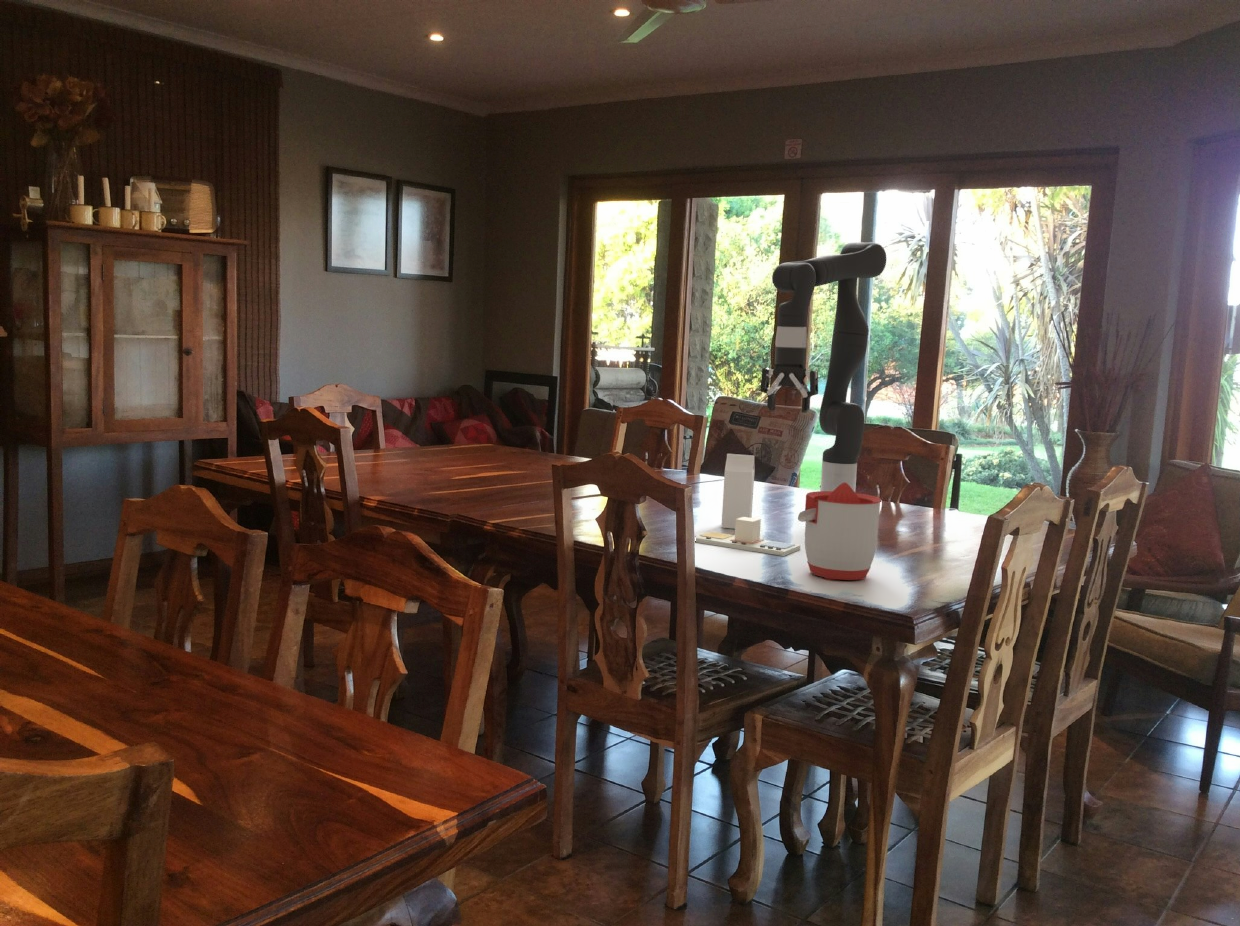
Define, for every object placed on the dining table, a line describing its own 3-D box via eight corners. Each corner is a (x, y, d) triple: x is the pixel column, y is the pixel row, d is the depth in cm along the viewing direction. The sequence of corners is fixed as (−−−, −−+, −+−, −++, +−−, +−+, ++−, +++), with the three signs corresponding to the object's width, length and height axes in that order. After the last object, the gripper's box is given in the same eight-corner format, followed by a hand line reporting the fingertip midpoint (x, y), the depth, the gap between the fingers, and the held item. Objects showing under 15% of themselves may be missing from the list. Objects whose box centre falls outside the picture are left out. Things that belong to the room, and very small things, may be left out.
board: (709, 535, 265) (709, 530, 265) (800, 549, 253) (800, 544, 253) (690, 541, 257) (690, 535, 257) (783, 556, 245) (784, 550, 245)
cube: (742, 537, 259) (743, 516, 258) (759, 539, 257) (760, 519, 256) (734, 539, 255) (735, 519, 254) (752, 542, 253) (753, 521, 252)
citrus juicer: (782, 567, 233) (788, 476, 230) (855, 566, 237) (862, 477, 234) (810, 584, 218) (817, 487, 215) (888, 583, 222) (896, 488, 219)
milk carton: (748, 530, 275) (753, 457, 273) (721, 528, 276) (725, 455, 274) (751, 525, 282) (755, 454, 280) (724, 523, 283) (728, 452, 281)
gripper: (824, 346, 262) (820, 412, 264) (770, 344, 269) (767, 408, 271) (813, 346, 255) (809, 414, 258) (758, 344, 263) (755, 410, 265)
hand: (788, 411), depth 265 cm, fingers open, 8 cm apart
